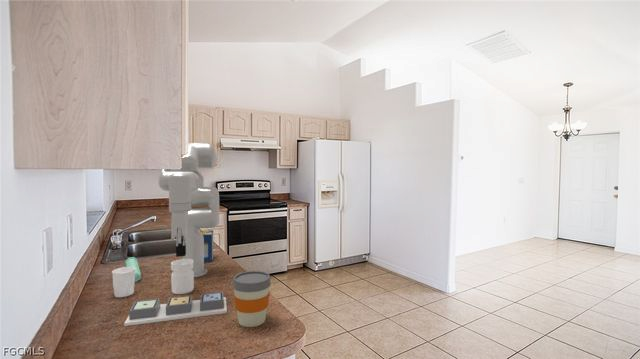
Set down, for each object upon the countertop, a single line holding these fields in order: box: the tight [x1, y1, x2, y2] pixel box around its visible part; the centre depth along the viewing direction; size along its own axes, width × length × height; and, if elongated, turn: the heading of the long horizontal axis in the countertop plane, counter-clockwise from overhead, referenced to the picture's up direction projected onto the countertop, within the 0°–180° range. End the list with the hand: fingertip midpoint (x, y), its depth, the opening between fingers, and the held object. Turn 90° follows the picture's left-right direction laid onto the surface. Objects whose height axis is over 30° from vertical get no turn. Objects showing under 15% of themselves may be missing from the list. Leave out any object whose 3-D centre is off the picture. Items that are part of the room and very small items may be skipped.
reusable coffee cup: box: [232, 270, 271, 328], centre depth 108 cm, size 13×13×15 cm
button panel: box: [123, 291, 228, 327], centre depth 114 cm, size 12×32×4 cm, turn 108°
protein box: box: [181, 229, 214, 263], centre depth 175 cm, size 10×15×16 cm
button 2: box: [169, 296, 189, 306], centre depth 114 cm, size 6×6×3 cm
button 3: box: [203, 293, 221, 302], centre depth 117 cm, size 6×6×3 cm
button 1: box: [133, 300, 156, 310], centre depth 110 cm, size 6×6×3 cm
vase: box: [170, 258, 195, 295], centre depth 133 cm, size 9×9×12 cm
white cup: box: [111, 266, 136, 298], centre depth 128 cm, size 8×8×10 cm
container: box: [124, 256, 142, 283], centre depth 151 cm, size 6×6×25 cm
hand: (181, 255), depth 118 cm, fingers closed
